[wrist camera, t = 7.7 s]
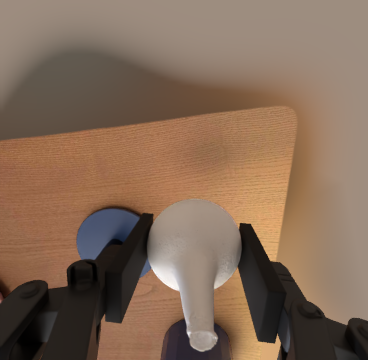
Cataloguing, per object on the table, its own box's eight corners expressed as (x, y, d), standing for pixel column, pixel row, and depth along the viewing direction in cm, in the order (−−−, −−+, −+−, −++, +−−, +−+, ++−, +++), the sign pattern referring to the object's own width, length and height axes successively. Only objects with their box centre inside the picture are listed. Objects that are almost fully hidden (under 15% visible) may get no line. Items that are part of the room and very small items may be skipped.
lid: (159, 210, 34) (142, 248, 24) (156, 281, 38) (140, 343, 27) (78, 202, 35) (24, 236, 24) (82, 273, 38) (36, 331, 28)
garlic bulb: (171, 179, 15) (141, 234, 7) (252, 213, 15) (307, 302, 7) (142, 251, 17) (91, 359, 9) (215, 281, 17) (229, 413, 9)
